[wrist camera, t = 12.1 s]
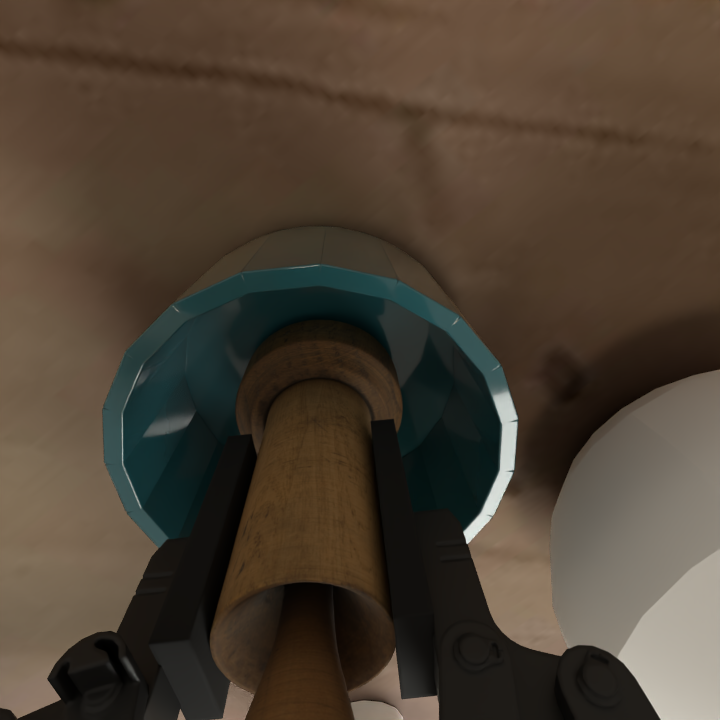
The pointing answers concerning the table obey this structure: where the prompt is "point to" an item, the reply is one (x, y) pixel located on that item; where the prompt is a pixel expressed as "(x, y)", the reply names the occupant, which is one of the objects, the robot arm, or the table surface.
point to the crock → (280, 309)
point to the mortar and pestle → (309, 526)
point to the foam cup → (374, 711)
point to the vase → (648, 546)
